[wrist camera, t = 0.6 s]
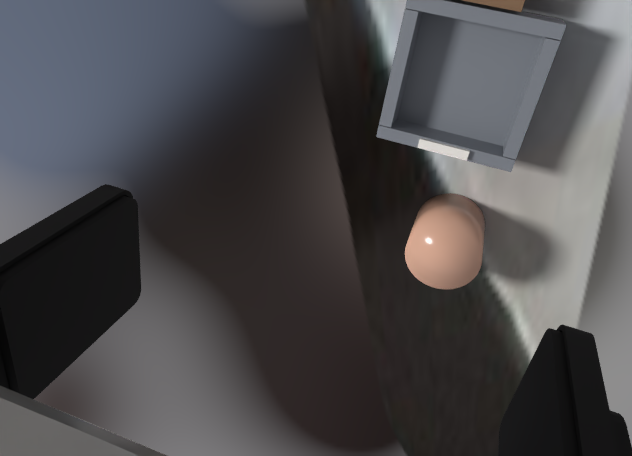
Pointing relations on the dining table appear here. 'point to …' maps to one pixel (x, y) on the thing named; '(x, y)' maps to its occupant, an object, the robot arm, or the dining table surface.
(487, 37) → the gray square open tray
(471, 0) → the brown wooden open tray
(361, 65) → the dining table surface
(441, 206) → the peach rounded capsule
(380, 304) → the dining table surface
